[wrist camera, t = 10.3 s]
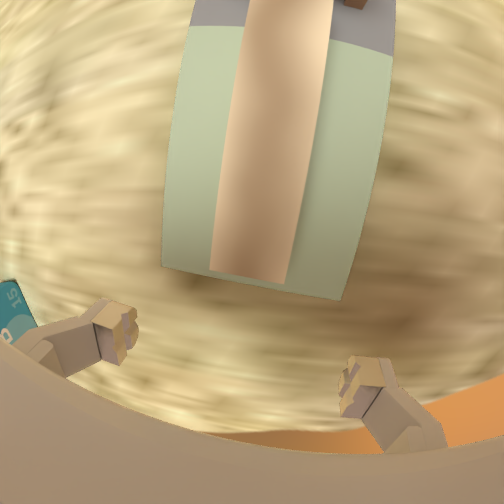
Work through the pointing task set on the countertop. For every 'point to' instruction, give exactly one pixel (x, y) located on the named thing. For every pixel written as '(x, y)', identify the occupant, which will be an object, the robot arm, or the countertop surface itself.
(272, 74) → the birch bar
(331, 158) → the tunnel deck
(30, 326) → the data package
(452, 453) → the robot arm
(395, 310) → the countertop surface
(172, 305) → the countertop surface
